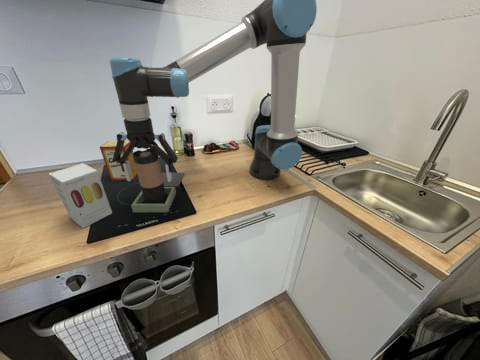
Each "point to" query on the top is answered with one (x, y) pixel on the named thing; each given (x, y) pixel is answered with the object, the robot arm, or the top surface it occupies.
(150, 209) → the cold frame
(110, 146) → the baking soda box
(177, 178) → the rubber mat
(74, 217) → the supplement box
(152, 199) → the travel mug
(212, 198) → the top surface
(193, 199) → the top surface
